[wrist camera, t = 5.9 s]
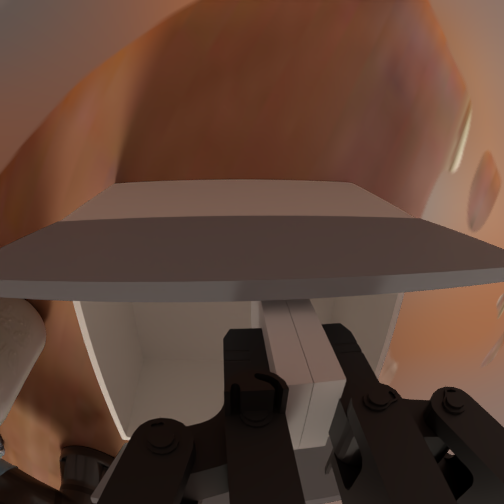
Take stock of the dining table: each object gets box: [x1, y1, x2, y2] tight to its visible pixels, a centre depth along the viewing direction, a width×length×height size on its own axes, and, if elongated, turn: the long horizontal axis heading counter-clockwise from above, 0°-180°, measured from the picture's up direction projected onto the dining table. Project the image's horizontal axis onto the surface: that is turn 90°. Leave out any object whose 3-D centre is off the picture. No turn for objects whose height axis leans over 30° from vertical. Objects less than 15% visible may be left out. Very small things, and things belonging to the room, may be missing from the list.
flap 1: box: [0, 216, 504, 302], centre depth 14 cm, size 24×11×1 cm
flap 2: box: [91, 436, 341, 504], centre depth 22 cm, size 24×11×1 cm
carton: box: [61, 179, 415, 440], centre depth 30 cm, size 25×23×14 cm
